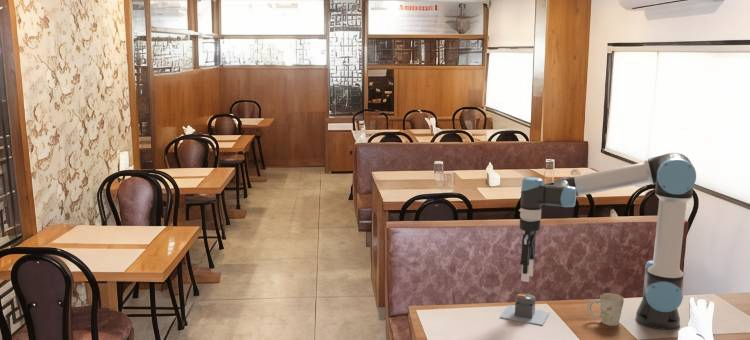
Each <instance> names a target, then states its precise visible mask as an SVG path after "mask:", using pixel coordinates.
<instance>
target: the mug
mask: <svg viewBox="0 0 750 340" xmlns="http://www.w3.org/2000/svg"><path fill="white" fill-rule="evenodd" d="M624 301H625V299H624V297H623V296H622V295H621V294H617V293H609V292H608V293H607V292H606V293H602V294H600V296H599V299H593V300H591V301H589V302H588V305H587V310H586V311H587V312H588V314H589V315H590V316H592V317H594V318H601V319H600V320H601V323H602V324H603V325H605V326H606V325H607V326H610V327H616V326H618V325H620V319H621V315H622V310H623V306H624ZM594 304H599V305H600V314H595V313H594V312H593V311H592V306H593V305H594Z"/></svg>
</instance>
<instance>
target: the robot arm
mask: <svg viewBox="0 0 750 340" xmlns="http://www.w3.org/2000/svg"><path fill="white" fill-rule="evenodd" d="M696 180H697V171H696V169H695V166H694V165H693V163H692V161H691V160H690V158H688V156H686V155H684V154H683V153H680V152H669V153H665V154H661V155H658V156H654V157H649V158H646V159H645V160H644V161H643V162H638V163H634V164H629V165H625V166H623V165H622V166H620V167H619V166H618V167H614V168H609V169H604V170H600V171H594V172H589V173H586V174H581V175H575V176H571V177H565V176H564V177H560V178H558V179H556V180H555V181H554V183H553V184H545V183H544V180H543V179H542V178H541V177H536V176H528V177H527V176H526V177H524V178H523V179H522V181H521V190H520V208H519V209H518V212H520V213H519V217H520V219H519V226H518V227H519V229H520V230H521V231H524V233H523V234H522V238H521V254H520V256H521V257H520V262H519V265H521V273H520V274H521V276H520V277H521V282H525V283H526V282H527V283H529V282H530V277H533V276H534V260H536V259H537V257H536V237H537V236H536V235H537V232H538V231H540V230H541V219H542V205H544V206H554V207H563V208H573V207H575V206H576V201H577V197H579V196H585V195H591V194H595V193H596V194H597V193H601V192H606V191H611V190H616V189H623V188H626V187H627V188H628V187H632V186H637V185H643V184H651V185H655V192H654V195H655V196H656V197H657V198H658V199H659V200H658V209H657V218H656V219H657V220H656V228H655V236H654V237H655V238H654V239H655V240H654V249H653V257H652V258H653V259H652V260H648V261H646V263H645V266H644V269H645V270H644V277H643V279H644V281H643V292H642V299H641V301H640V303H639V306H638V308H637V309H636V312H635V313H636V314H635V319H636V321H637V322H638V323H640V324H642V325H643V326H646V327H647V326H648V327H650V328H653V329H654V328H655V329H659V330H660V329H661V330H671V329H672V328H673V329H677V328H678V327H680V323H681V317H680V313H679V310H678V308H679V307H680V306H681V305H682V303H683V299H684V295H683V282H684V272H683V271H682V270H681V269H680V267H681V266H680V265H681V256H682V247H683V237H684V228H685V219H686V210H687V203H688V201H690V200H691V199H692V198H693V191H694V185H695V183H696ZM676 327H677V328H676ZM673 329H672V330H673Z"/></svg>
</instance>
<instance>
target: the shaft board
mask: <svg viewBox="0 0 750 340" xmlns="http://www.w3.org/2000/svg"><path fill="white" fill-rule="evenodd" d="M549 315H550V311H544V310H539V309H535V313H534V315H533V317H532V319H529V318H523V317H517V316H515V305H510V304H508V305H507V306H506V308H505V309H504V311H502V314H500V316H499V318H500V319H503V318H504V320H508V321H509V320H510V321H516V322H519V323H520V322H521V323H526V324H532V325H537V326H544V324H545V323H546V320H547V319H548V317H549Z"/></svg>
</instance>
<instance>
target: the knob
mask: <svg viewBox="0 0 750 340" xmlns="http://www.w3.org/2000/svg"><path fill="white" fill-rule="evenodd" d="M514 306H515V316H517V317H523V318H529V319H532V317H533V315H534V313H535V310H536V296H535V295H532V294H531V293H519V294H518V293H517V294H516V295H515V305H514Z"/></svg>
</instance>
